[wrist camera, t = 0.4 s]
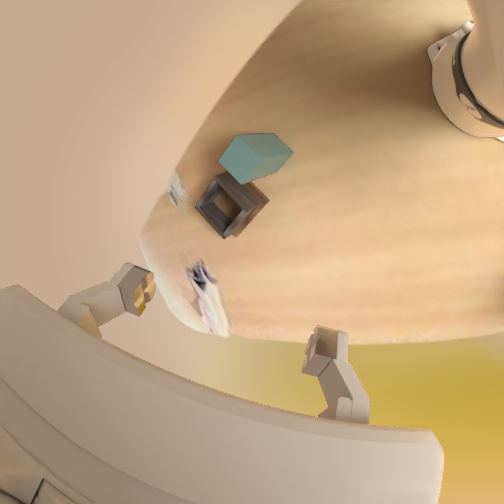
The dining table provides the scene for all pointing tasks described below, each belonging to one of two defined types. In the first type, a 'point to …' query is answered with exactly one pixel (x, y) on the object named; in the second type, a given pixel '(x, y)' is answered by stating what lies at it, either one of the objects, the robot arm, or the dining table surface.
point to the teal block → (254, 156)
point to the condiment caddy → (230, 204)
